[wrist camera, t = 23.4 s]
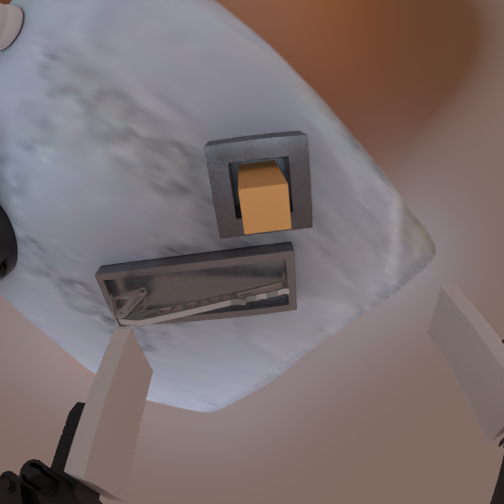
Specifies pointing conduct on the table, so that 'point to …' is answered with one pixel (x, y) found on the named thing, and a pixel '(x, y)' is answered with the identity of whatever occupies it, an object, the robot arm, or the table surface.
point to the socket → (254, 148)
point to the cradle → (206, 280)
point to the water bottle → (9, 24)
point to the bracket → (185, 304)
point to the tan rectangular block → (263, 197)
